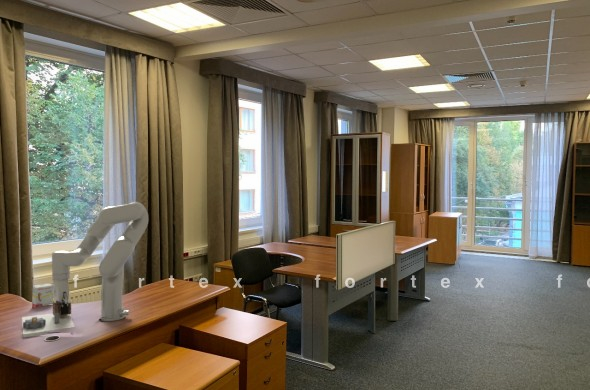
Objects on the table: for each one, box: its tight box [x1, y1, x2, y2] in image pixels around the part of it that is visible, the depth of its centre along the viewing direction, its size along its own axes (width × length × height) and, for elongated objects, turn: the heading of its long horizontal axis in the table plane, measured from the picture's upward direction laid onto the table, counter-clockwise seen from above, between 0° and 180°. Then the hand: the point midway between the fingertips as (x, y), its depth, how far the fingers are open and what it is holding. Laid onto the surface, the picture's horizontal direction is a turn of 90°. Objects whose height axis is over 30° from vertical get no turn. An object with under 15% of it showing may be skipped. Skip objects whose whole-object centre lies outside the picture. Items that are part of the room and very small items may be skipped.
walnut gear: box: [52, 300, 72, 316], centre depth 210 cm, size 8×8×6 cm
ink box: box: [31, 283, 54, 309], centre depth 228 cm, size 9×5×12 cm, turn 140°
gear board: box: [21, 312, 76, 339], centre depth 202 cm, size 26×20×6 cm
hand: (61, 312), depth 210 cm, fingers closed on walnut gear, 7 cm apart
